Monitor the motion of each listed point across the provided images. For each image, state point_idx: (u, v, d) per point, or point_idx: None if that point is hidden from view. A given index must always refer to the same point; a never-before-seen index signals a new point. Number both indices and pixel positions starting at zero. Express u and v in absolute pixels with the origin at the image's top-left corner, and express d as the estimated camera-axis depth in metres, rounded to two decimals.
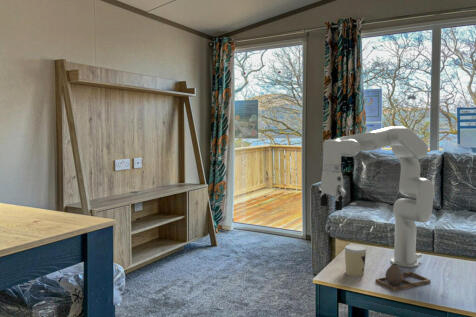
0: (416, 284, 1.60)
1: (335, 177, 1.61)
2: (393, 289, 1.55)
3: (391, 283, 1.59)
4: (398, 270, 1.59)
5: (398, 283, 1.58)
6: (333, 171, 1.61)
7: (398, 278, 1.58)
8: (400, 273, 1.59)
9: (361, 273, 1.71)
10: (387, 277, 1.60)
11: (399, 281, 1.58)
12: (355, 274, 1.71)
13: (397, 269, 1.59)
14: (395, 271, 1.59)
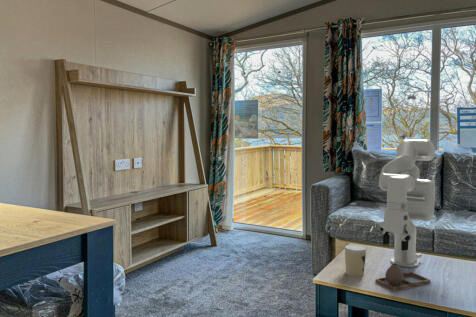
0: (416, 284, 1.60)
1: (402, 216, 1.55)
2: (393, 289, 1.55)
3: (391, 283, 1.59)
4: (398, 270, 1.59)
5: (398, 283, 1.58)
6: (399, 210, 1.55)
7: (398, 278, 1.58)
8: (400, 273, 1.59)
9: (361, 273, 1.71)
10: (387, 277, 1.60)
11: (399, 281, 1.58)
12: (355, 274, 1.71)
13: (397, 269, 1.59)
14: (395, 271, 1.59)
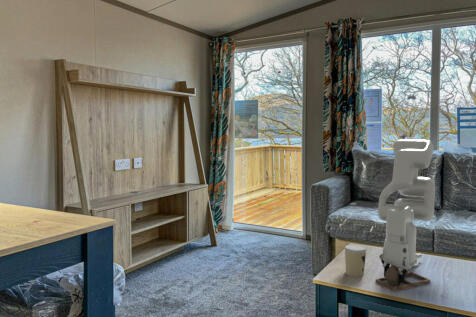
0: (416, 284, 1.60)
1: (401, 249, 1.56)
2: (393, 289, 1.55)
3: (391, 283, 1.59)
4: (398, 270, 1.59)
5: (398, 283, 1.58)
6: (398, 242, 1.57)
7: None
8: None
9: (361, 273, 1.71)
10: (387, 277, 1.60)
11: None
12: (355, 274, 1.71)
13: (397, 269, 1.59)
14: (395, 271, 1.59)
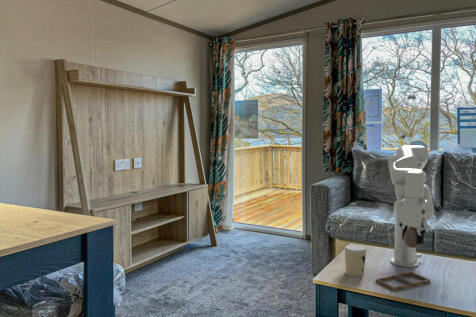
0: (416, 284, 1.60)
1: (419, 210, 1.59)
2: (393, 289, 1.55)
3: (410, 244, 1.62)
4: (416, 231, 1.62)
5: (416, 244, 1.62)
6: (417, 204, 1.60)
7: None
8: None
9: (361, 273, 1.71)
10: (405, 238, 1.64)
11: None
12: (355, 274, 1.71)
13: (415, 230, 1.62)
14: (413, 233, 1.62)
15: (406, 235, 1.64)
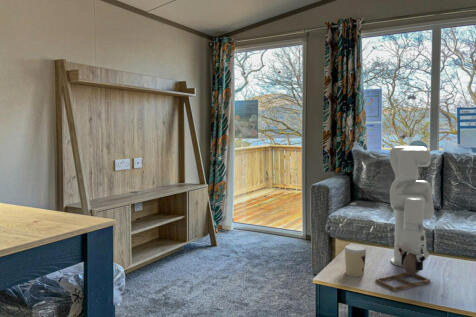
0: (416, 284, 1.60)
1: (419, 237, 1.60)
2: (393, 289, 1.55)
3: (409, 270, 1.63)
4: (416, 258, 1.63)
5: None
6: (416, 230, 1.60)
7: None
8: None
9: (361, 273, 1.71)
10: (405, 264, 1.64)
11: None
12: (355, 274, 1.71)
13: (415, 257, 1.63)
14: (412, 259, 1.62)
15: (405, 261, 1.64)
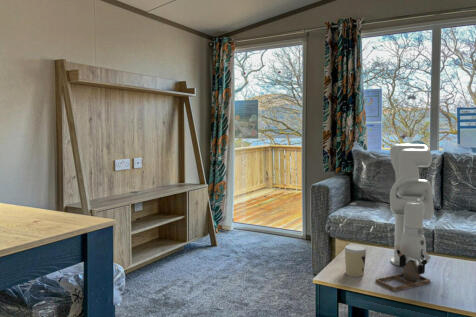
0: (416, 284, 1.60)
1: (418, 241, 1.60)
2: (393, 289, 1.55)
3: (408, 279, 1.64)
4: (415, 266, 1.64)
5: (415, 279, 1.63)
6: (416, 235, 1.61)
7: (415, 274, 1.62)
8: (417, 269, 1.63)
9: (361, 273, 1.71)
10: (404, 273, 1.65)
11: (416, 277, 1.63)
12: (355, 274, 1.71)
13: (414, 265, 1.64)
14: (412, 268, 1.63)
15: (405, 270, 1.65)
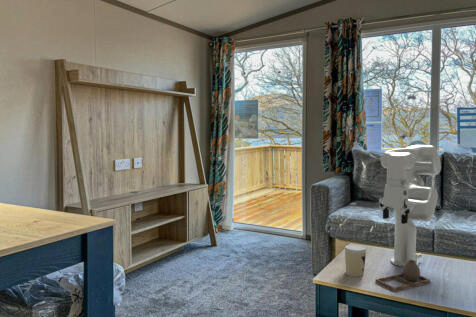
0: (416, 284, 1.60)
1: (401, 191, 1.64)
2: (393, 289, 1.55)
3: (408, 279, 1.64)
4: (415, 266, 1.64)
5: (415, 279, 1.63)
6: (399, 185, 1.65)
7: (415, 274, 1.62)
8: (417, 269, 1.63)
9: (361, 273, 1.71)
10: (404, 273, 1.65)
11: (416, 277, 1.63)
12: (355, 274, 1.71)
13: (414, 265, 1.64)
14: (412, 268, 1.63)
15: (405, 270, 1.65)
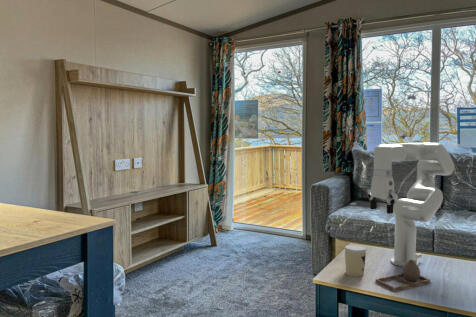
0: (416, 284, 1.60)
1: (387, 182, 1.68)
2: (393, 289, 1.55)
3: (408, 279, 1.64)
4: (415, 266, 1.64)
5: (415, 279, 1.63)
6: (385, 176, 1.68)
7: (415, 274, 1.62)
8: (417, 269, 1.63)
9: (361, 273, 1.71)
10: (404, 273, 1.65)
11: (416, 277, 1.63)
12: (355, 274, 1.71)
13: (414, 265, 1.64)
14: (412, 268, 1.63)
15: (405, 270, 1.65)
